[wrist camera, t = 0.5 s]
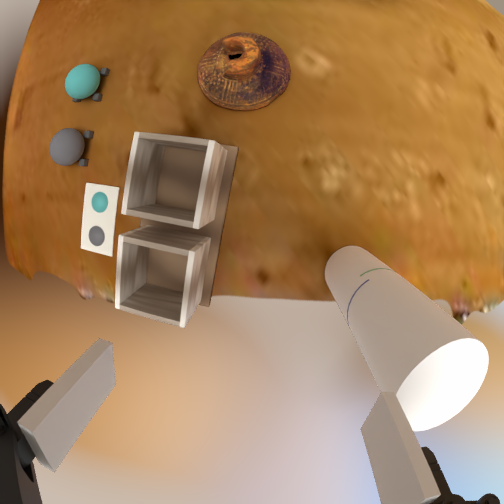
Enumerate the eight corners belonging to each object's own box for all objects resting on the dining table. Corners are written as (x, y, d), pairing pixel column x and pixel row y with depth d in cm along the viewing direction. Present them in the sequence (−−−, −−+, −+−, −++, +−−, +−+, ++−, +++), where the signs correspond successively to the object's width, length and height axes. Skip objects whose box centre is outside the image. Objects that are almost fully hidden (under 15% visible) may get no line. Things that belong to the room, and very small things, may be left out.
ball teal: (84, 71, 33) (64, 61, 28) (110, 68, 33) (92, 57, 27) (74, 103, 34) (53, 96, 29) (101, 102, 34) (80, 93, 29)
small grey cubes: (84, 72, 33) (81, 70, 32) (109, 69, 33) (106, 67, 32) (63, 163, 36) (59, 163, 35) (87, 166, 36) (83, 166, 35)
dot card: (87, 182, 37) (85, 182, 37) (119, 187, 37) (118, 187, 36) (81, 248, 39) (80, 248, 39) (112, 256, 39) (111, 256, 39)
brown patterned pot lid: (281, 119, 34) (283, 104, 27) (190, 106, 34) (172, 89, 27) (296, 44, 31) (301, 17, 24) (210, 33, 31) (198, 7, 24)
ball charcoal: (68, 130, 35) (46, 126, 30) (94, 130, 35) (72, 125, 30) (62, 164, 36) (39, 164, 31) (87, 167, 36) (65, 166, 31)
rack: (157, 136, 35) (126, 125, 26) (238, 148, 35) (228, 136, 26) (137, 285, 40) (107, 310, 31) (210, 304, 39) (193, 335, 31)
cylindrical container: (313, 272, 38) (369, 403, 13) (352, 234, 36) (468, 314, 12) (347, 307, 38) (419, 443, 14) (384, 271, 37) (498, 374, 13)
